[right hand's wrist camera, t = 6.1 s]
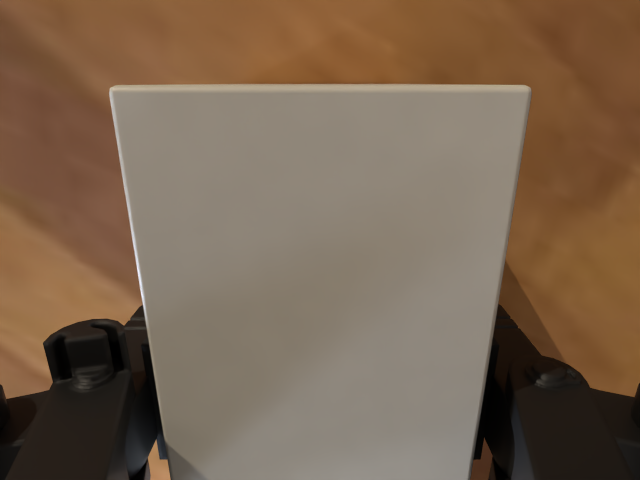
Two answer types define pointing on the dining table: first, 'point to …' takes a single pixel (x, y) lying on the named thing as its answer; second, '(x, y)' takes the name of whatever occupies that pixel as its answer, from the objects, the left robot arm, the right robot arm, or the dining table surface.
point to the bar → (320, 270)
